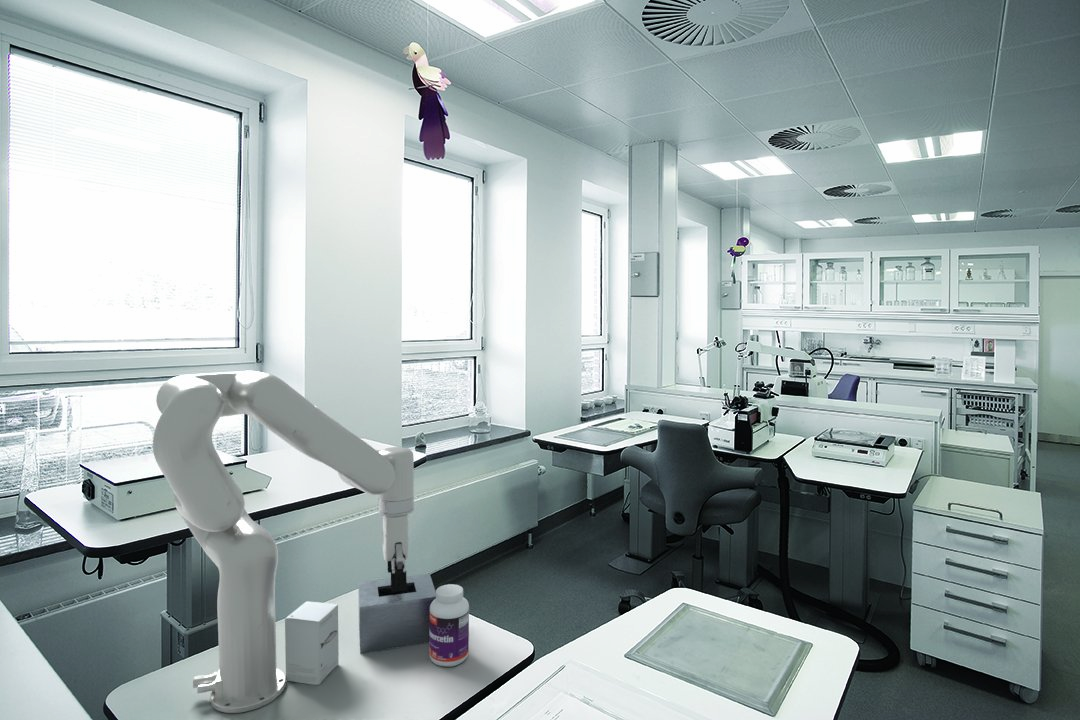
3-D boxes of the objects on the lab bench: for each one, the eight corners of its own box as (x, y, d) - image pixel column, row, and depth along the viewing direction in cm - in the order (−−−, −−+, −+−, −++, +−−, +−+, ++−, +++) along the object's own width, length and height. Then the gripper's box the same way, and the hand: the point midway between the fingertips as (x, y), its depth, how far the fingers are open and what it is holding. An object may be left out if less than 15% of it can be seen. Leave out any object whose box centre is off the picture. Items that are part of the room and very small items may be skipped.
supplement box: (319, 686, 112) (318, 622, 111) (284, 681, 114) (283, 617, 113) (340, 664, 119) (339, 603, 118) (307, 659, 121) (305, 599, 120)
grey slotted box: (360, 653, 123) (359, 607, 122) (358, 625, 134) (358, 582, 134) (437, 641, 128) (437, 596, 127) (429, 614, 140) (429, 573, 139)
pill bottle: (421, 662, 120) (420, 593, 119) (445, 643, 127) (445, 578, 126) (453, 673, 117) (453, 602, 116) (476, 653, 124) (476, 586, 123)
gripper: (376, 494, 136) (377, 567, 137) (380, 519, 120) (381, 600, 121) (409, 492, 139) (409, 563, 140) (418, 515, 122) (418, 595, 123)
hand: (396, 580), depth 130 cm, fingers open, 9 cm apart
